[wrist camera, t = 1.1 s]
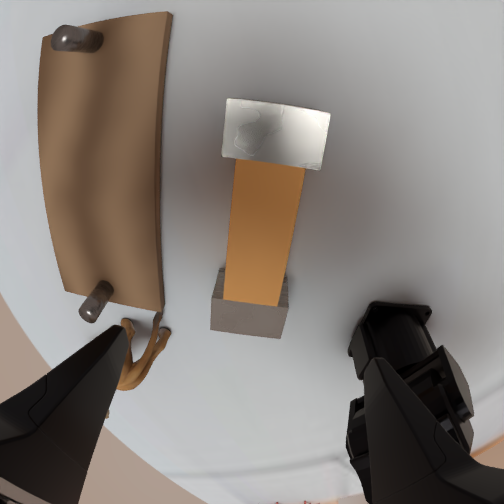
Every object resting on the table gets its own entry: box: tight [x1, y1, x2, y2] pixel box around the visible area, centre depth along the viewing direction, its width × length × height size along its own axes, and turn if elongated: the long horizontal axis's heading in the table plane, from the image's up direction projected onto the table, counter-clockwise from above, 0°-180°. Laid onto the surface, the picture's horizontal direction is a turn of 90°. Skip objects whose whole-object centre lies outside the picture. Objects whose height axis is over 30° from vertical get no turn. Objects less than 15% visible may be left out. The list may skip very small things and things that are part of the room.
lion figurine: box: [106, 312, 171, 418], centre depth 23 cm, size 15×5×9 cm, turn 137°
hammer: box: [210, 98, 331, 339], centre depth 18 cm, size 5×15×4 cm, turn 173°
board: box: [38, 11, 173, 323], centre depth 16 cm, size 10×22×4 cm, turn 173°
